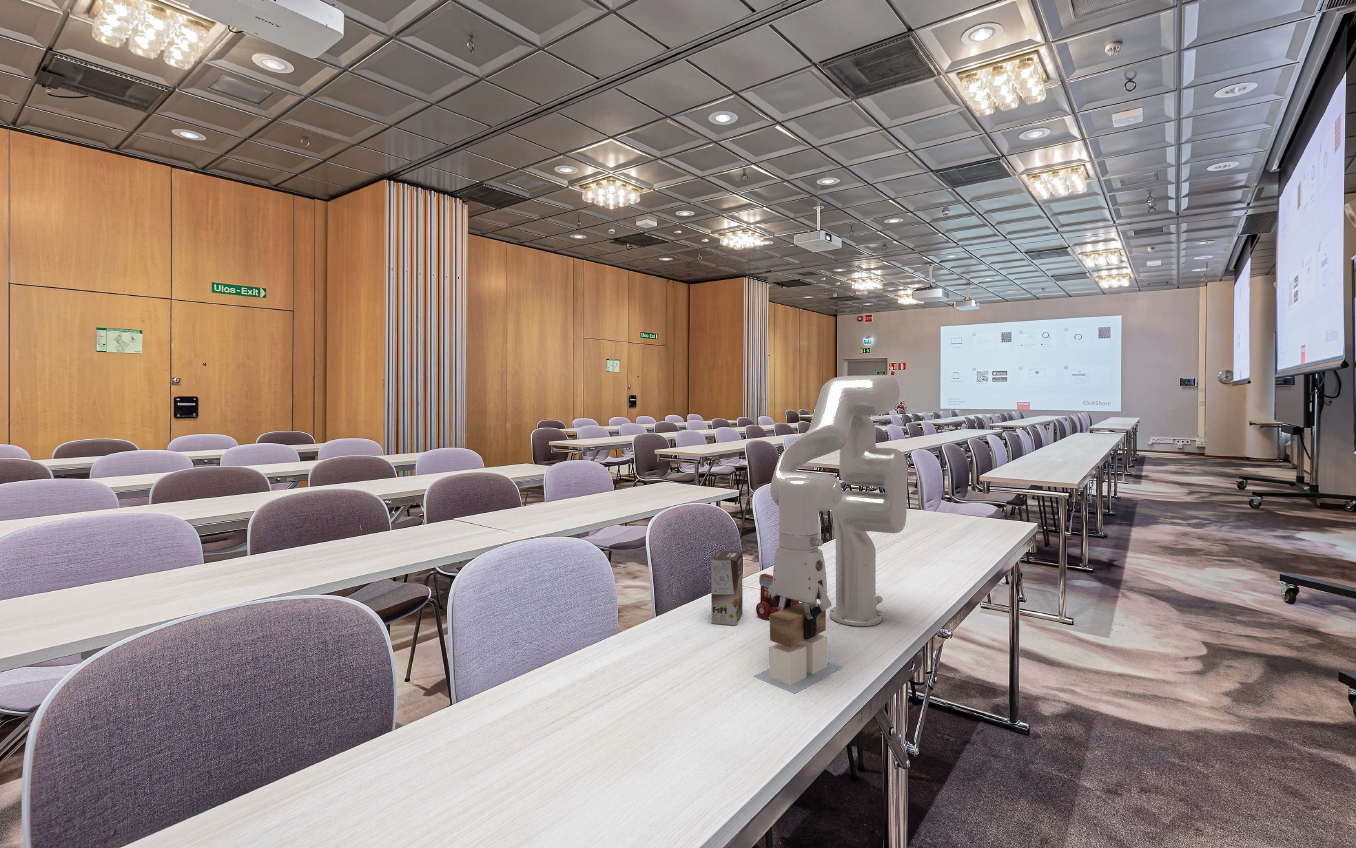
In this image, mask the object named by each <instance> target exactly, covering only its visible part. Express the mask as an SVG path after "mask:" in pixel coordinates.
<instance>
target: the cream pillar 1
mask: <svg viewBox="0 0 1356 848" xmlns="http://www.w3.org/2000/svg"><path fill="white" fill-rule="evenodd" d="M768 649H769V650H768V651H769V654H768V656H769V663H768V665H769V668H768V669H769V677H771V678H773V679H776V680H778V681H780V682H783V683H785V684H788V685H790V686H791V685H793V684H795V683H797V682H798V681H800V680H802V679H804V678H806V646H803V645H801V644H798V643H797V644H795V645H792V646H790V647H788V646H785V645H782V644H779V643H776V642H775V643H773V644H771V645H768Z"/></svg>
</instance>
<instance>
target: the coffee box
mask: <svg viewBox="0 0 1356 848" xmlns="http://www.w3.org/2000/svg"><path fill="white" fill-rule="evenodd" d="M710 562H711V563H710V564H711V567H710V569H711V571H710V572H711V579H710V581H711V583H710V584H711V587H710V588H711V590H710V591H711V595H710V596H711V600H710V601H711V624H714V625H715V624H716V625H727V626H737V624H738V622H739V620H740V619H741V617H742V615H743V611H744V610H743V609H744V608H743V598H744V597H743V591H744V590H743V551H735V550H718V551H717V552H716V553H715V554H714V555H713V556H712V557H711V558H710Z"/></svg>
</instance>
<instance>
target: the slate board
mask: <svg viewBox="0 0 1356 848" xmlns="http://www.w3.org/2000/svg"><path fill="white" fill-rule="evenodd" d="M843 668H844V666H841V665H838V664H835V663H833V662H829V661H827V667H825V668H823V669H822V670H820V671H818V672H816V673H814V674H811V673H808V672H806V678H804V679H802V680H800V681H798V682H797V683H795V684H793V685H791V686H790V685H788V684H785V683H783V682H780V681H778V680H776V679H773V678H771V677H769V668H767V669H765V670H762V671H760V672H758V673H756V674H755V675H752V677H754V678H756V679H758V680H761V681H763V682H766V683H768V684H770V685H773V686H774V687H777V688H780V689H782V690H784V691H787V692H790V693H792V694H795V695H796V694H798V693H799V692H801V691H803V690H805V689H807V688H809V687H811V686H812V685H814V684H816V683H817V682H820V681H822V680H823V679H825V678H828V677H829V676H831V675H833V674H835V673H837V672H838V671H840V670H842V669H843Z"/></svg>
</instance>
